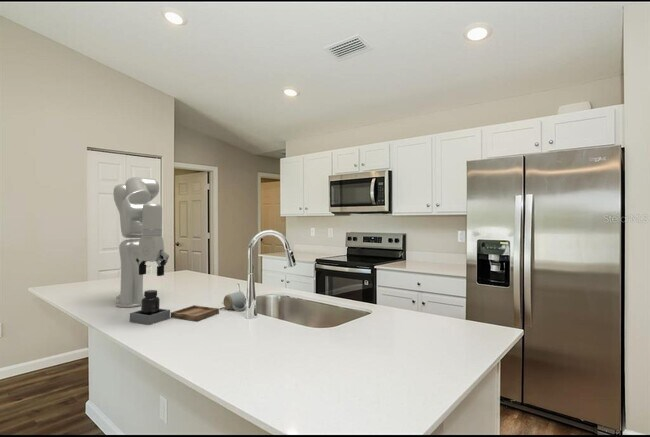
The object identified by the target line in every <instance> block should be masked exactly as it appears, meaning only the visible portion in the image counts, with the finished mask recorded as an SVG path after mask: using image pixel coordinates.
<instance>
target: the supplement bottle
mask: <svg viewBox="0 0 650 437" xmlns="http://www.w3.org/2000/svg"><path fill="white" fill-rule="evenodd" d="M143 294H144V295H143V299H142V301H141V306H140V310H141V314H144V315H153V314H156V313H159V308H160V305H161V304H160V300H161V299H160V298H159V296H158V291H157V289H153V290H152V289H149V290H145V291H143Z"/></svg>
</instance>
